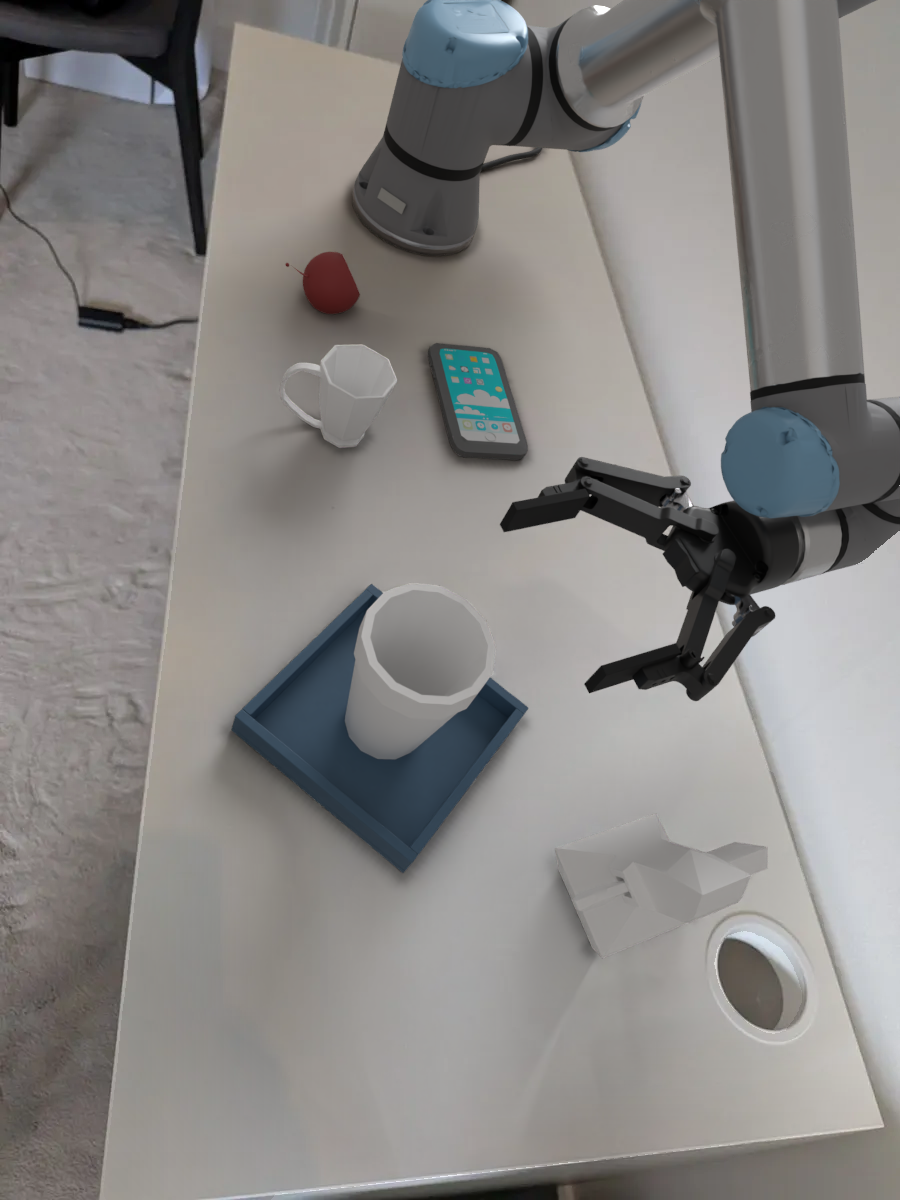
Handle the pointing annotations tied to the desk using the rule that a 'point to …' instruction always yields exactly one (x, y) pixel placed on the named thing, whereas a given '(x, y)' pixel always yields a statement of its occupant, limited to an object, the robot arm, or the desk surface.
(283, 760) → the tray
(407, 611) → the foam cup
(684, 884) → the tape dispenser
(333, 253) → the fruit
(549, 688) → the desk surface
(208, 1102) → the desk surface
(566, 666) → the desk surface
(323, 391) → the cup
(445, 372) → the smartphone
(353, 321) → the desk surface
